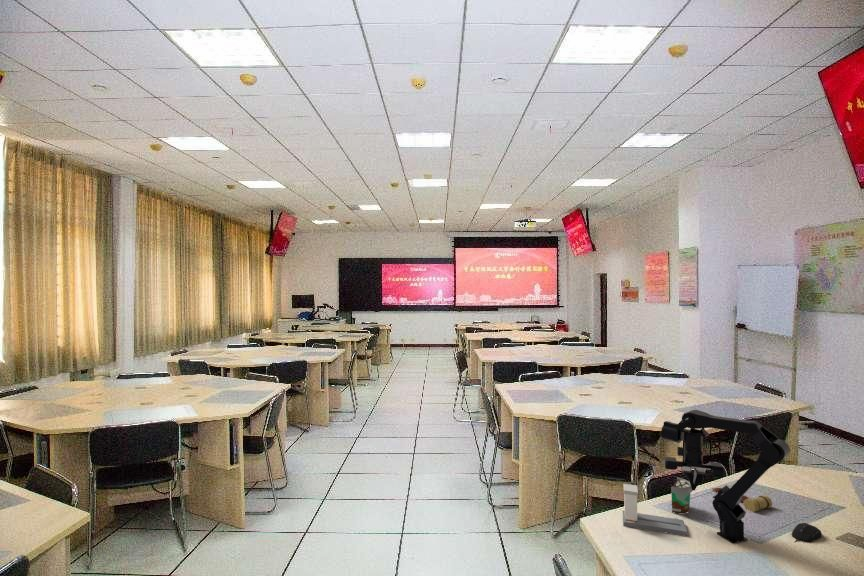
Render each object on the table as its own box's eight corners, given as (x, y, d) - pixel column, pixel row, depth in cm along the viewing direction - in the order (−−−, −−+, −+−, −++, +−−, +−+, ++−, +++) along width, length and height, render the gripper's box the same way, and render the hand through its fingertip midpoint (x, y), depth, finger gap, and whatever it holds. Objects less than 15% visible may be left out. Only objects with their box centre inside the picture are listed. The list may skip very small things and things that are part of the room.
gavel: (703, 484, 195) (719, 481, 199) (704, 496, 195) (720, 492, 199) (755, 501, 176) (772, 497, 180) (756, 514, 176) (773, 509, 180)
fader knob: (637, 513, 172) (637, 485, 172) (638, 521, 166) (638, 492, 166) (623, 511, 173) (623, 483, 173) (624, 519, 167) (623, 490, 167)
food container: (689, 518, 172) (689, 490, 172) (671, 513, 176) (671, 486, 176) (695, 506, 182) (694, 480, 182) (677, 502, 185) (677, 476, 186)
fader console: (683, 524, 167) (683, 519, 167) (687, 536, 159) (687, 531, 159) (622, 514, 175) (622, 510, 175) (623, 525, 166) (623, 521, 166)
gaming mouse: (783, 539, 158) (782, 527, 158) (803, 528, 165) (803, 516, 165) (805, 548, 152) (805, 535, 153) (825, 536, 160) (825, 524, 160)
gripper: (718, 442, 172) (718, 485, 172) (661, 436, 179) (661, 478, 179) (725, 452, 162) (725, 497, 162) (665, 445, 168) (665, 489, 168)
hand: (693, 490), depth 168 cm, fingers closed
